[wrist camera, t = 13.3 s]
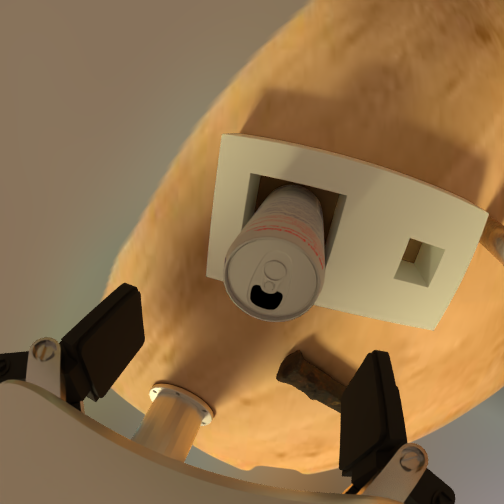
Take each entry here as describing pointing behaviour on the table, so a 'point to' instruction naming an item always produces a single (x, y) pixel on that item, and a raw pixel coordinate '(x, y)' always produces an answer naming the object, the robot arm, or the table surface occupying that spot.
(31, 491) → the robot arm
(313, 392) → the hand tool
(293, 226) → the energy drink
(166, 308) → the table surface
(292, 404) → the table surface
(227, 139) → the socket block
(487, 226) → the grey metal peg
